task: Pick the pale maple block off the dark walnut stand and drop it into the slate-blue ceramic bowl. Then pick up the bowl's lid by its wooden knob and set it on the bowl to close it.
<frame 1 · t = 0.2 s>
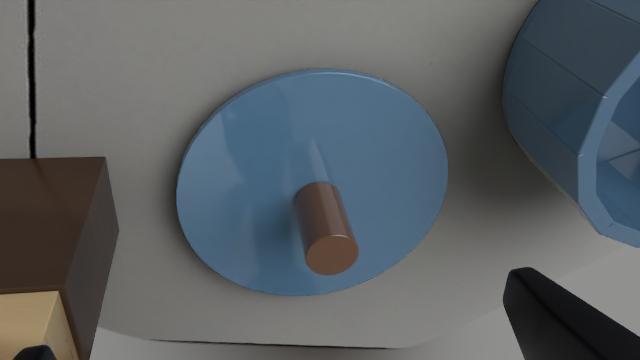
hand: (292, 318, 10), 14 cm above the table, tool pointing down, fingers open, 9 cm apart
stand: (63, 197, 24), on the table
bowl lid: (315, 195, 26), point 1 cm above the table
block: (8, 334, 18), point 8 cm above the table, touching stand
bowl: (624, 61, 25), on the table
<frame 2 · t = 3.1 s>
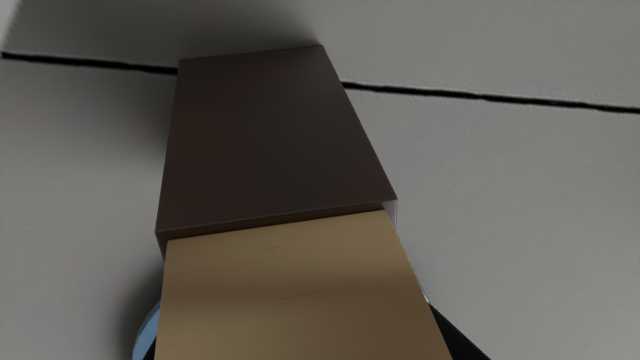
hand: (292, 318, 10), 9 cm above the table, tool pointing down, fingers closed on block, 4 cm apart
stand: (260, 115, 17), on the table
bowl lid: (289, 355, 23), point 1 cm above the table
block: (287, 298, 10), point 8 cm above the table, touching gripper, stand
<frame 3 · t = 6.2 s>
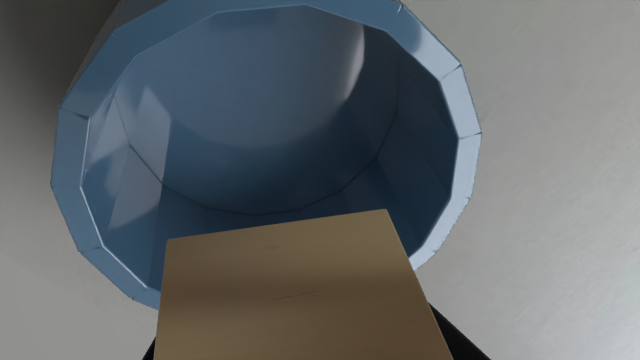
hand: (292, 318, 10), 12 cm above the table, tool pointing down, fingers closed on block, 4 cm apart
block: (287, 297, 10), point 12 cm above the table, touching gripper
bowl: (263, 99, 21), on the table
when the fingers open (3 cm above the table, at t = 10.3 s): block stays where it is, resting on bowl.
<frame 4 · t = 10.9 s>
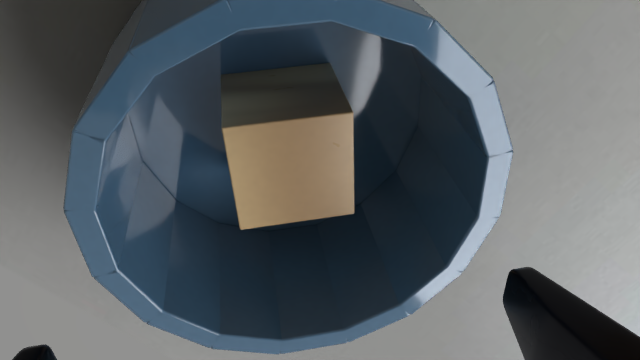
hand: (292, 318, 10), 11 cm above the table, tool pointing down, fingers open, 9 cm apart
block: (281, 117, 20), resting on bowl
bowl: (280, 112, 20), on the table
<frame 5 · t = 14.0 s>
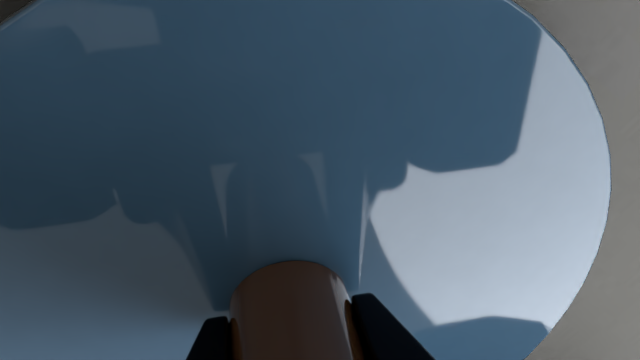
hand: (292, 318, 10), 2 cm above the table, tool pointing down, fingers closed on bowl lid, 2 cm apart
bowl lid: (285, 284, 11), point 1 cm above the table, touching gripper
when the fingers open (7 cm above the table, at t = 18.4 s): bowl lid stays where it is, resting on bowl.
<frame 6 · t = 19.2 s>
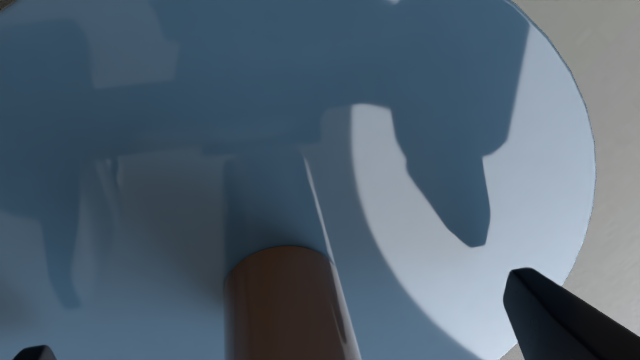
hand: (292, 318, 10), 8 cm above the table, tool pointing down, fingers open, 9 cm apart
bowl lid: (279, 270, 11), point 6 cm above the table, touching bowl
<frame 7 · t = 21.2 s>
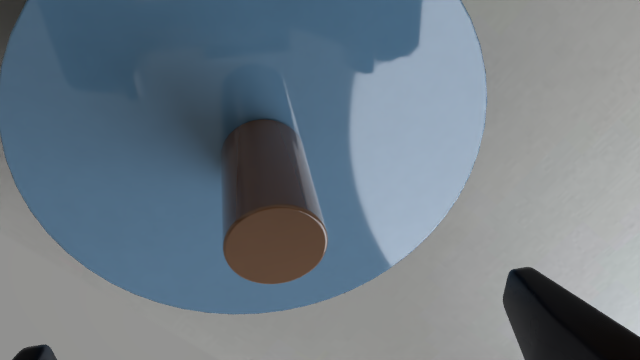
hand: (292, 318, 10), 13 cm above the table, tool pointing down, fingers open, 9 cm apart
bowl lid: (261, 146, 15), point 6 cm above the table, touching bowl
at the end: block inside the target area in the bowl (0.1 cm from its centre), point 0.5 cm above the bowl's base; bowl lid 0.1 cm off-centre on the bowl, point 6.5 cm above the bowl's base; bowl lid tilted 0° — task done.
